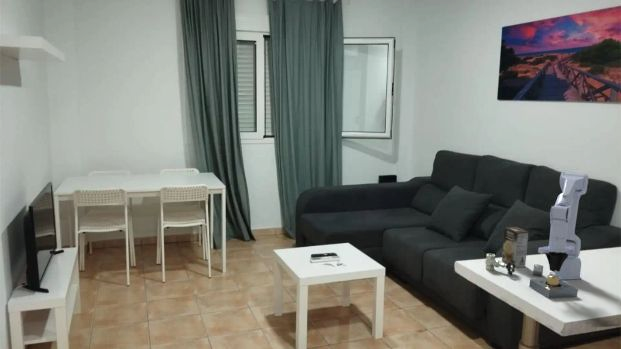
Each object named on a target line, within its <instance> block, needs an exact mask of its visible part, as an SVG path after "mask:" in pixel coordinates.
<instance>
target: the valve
mask: <svg viewBox="0 0 621 349" xmlns="http://www.w3.org/2000/svg"><path fill="white" fill-rule="evenodd" d="M515 263H516V261H514V260H511V263H508V264H507V263H505V262H500V260H498V259H496V255H495V253H486V258H485V270H486V271H495V268H504V269H506V271H507V274H508V275H510V276H513V273H516V270H515V268H517V267H516V265H515ZM512 265H513V266H512Z"/></svg>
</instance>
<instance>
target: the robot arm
mask: <svg viewBox="0 0 621 349" xmlns="http://www.w3.org/2000/svg"><path fill="white" fill-rule="evenodd" d="M588 185H589V175H588V174H587V173H578V172H577V173H575V172H565V171H562V172H561V173H560V176H559V186H560V189H561V193H560V194H559V195H558V196H557V199H556V201H555V204H554V205H551V208H550V210H549V211H550V212H549V218H550V221H549V223H550V224H549V225H550V231H549V239H548V240H549V242H548V245H547V246H542V247H538V250H537V253H539V254H540V255H545V256H546V258H547V261H548V266H549V275H556V276H558V277H559V279H560V280H561V281H564V280H580V279H582V276H581V270H582V260H581V258H580V254H581V242H582V241H581V238H580V237H579V236H578V235H576V233H575V229H576V225H577V217H578V209H579V201H580V198H581V196H583V195H585V194H586V193H587V191H588Z"/></svg>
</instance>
